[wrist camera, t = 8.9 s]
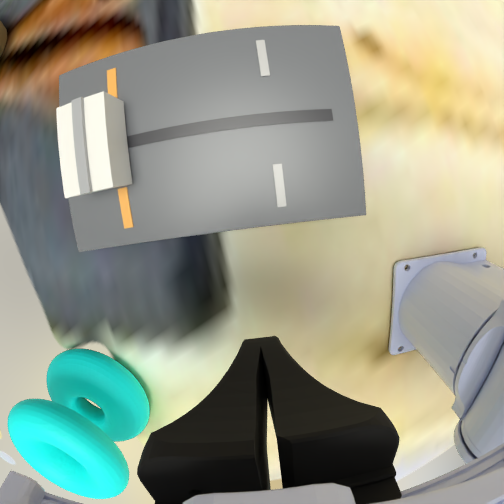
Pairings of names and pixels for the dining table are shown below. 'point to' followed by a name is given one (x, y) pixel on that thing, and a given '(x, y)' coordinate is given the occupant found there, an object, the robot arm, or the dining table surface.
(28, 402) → the donuts
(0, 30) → the squeeze bottle
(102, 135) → the fader
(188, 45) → the console
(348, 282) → the dining table surface
